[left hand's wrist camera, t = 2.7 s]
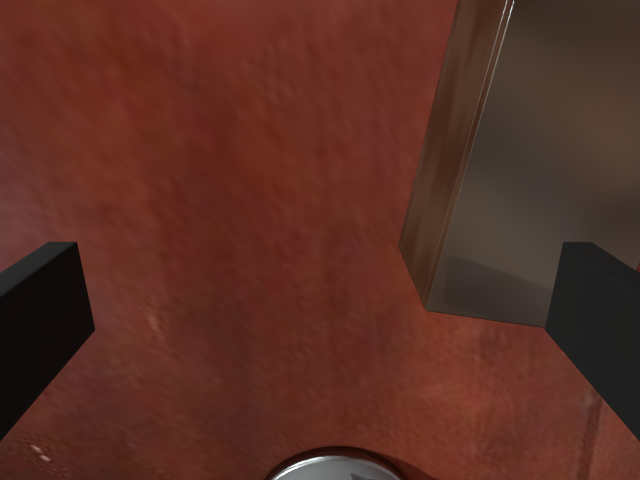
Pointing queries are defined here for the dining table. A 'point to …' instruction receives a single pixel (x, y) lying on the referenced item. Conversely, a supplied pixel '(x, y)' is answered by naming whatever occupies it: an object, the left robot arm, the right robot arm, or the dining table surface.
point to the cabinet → (526, 154)
